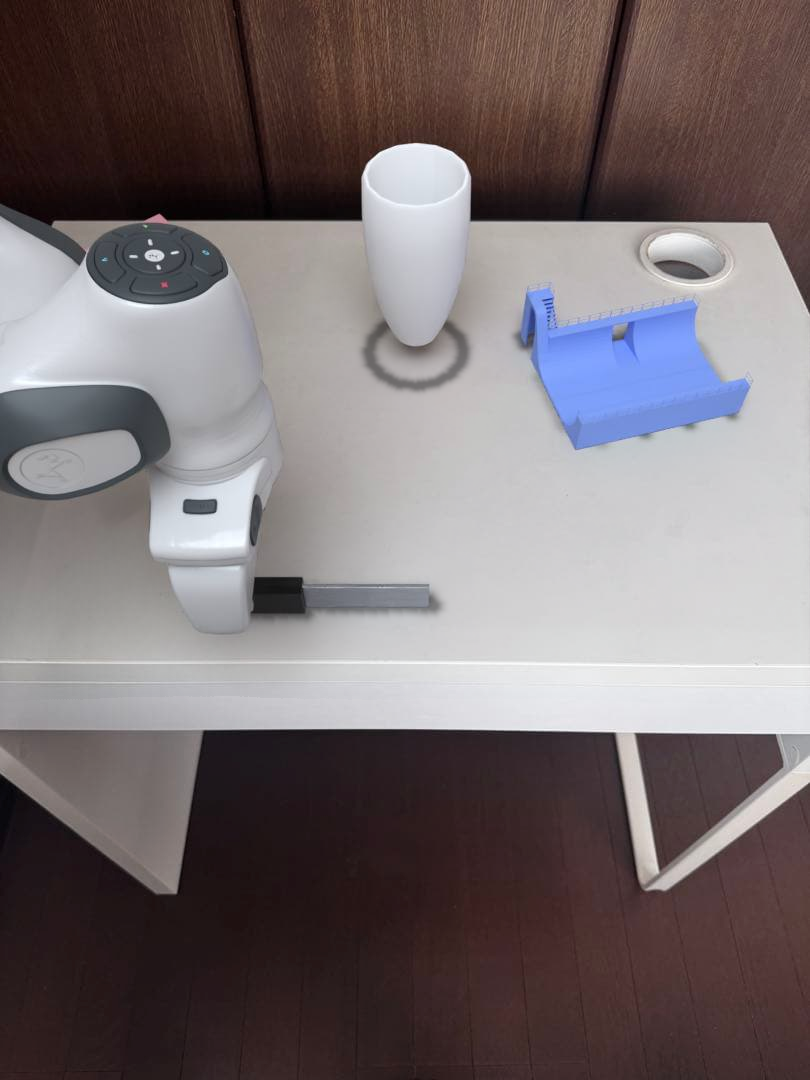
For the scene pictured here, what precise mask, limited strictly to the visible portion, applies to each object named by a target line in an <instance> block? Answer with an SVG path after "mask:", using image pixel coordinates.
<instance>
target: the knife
mask: <svg viewBox="0 0 810 1080" xmlns="http://www.w3.org/2000/svg"><path fill="white" fill-rule="evenodd" d="M253 591H254V593H255V598H254V607H253V611H252V612H250V615H251V614H257V615H258V614H266V615H267V614H268V615H269V614H277V615H278V614H282V615H283V614H285V615H288V614H289V615H290V614H291V615H292V614H293V615H295V614H297V615H298V614H299V615H300V614H302V615H305V614H306V608H429V607H430V584H429V583H305V582H304V577H303V576H255V578H254V587H253Z"/></svg>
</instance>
